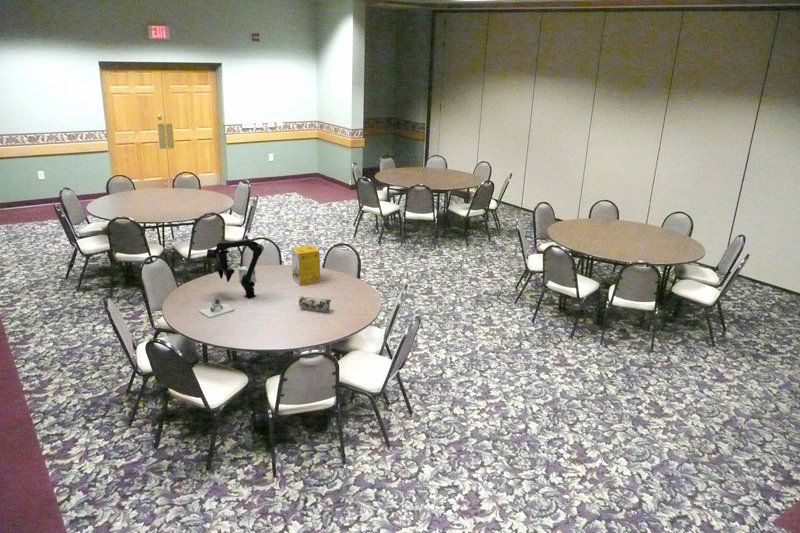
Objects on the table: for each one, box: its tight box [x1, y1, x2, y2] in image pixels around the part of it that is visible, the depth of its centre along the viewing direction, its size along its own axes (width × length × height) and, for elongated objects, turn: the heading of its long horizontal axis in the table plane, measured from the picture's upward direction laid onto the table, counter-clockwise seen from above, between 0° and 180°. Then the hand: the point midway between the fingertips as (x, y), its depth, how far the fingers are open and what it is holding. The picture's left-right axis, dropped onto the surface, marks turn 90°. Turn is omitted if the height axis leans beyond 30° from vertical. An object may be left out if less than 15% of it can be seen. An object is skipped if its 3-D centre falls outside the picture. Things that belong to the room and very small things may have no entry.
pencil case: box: [298, 294, 332, 313], centre depth 389 cm, size 22×8×10 cm, turn 71°
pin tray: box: [198, 303, 236, 319], centre depth 385 cm, size 14×18×4 cm
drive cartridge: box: [210, 294, 221, 312], centre depth 384 cm, size 4×4×10 cm
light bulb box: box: [238, 266, 257, 283], centre depth 438 cm, size 11×7×11 cm, turn 84°
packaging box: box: [290, 245, 321, 287], centre depth 439 cm, size 16×16×25 cm
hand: (224, 280), depth 407 cm, fingers open, 9 cm apart
